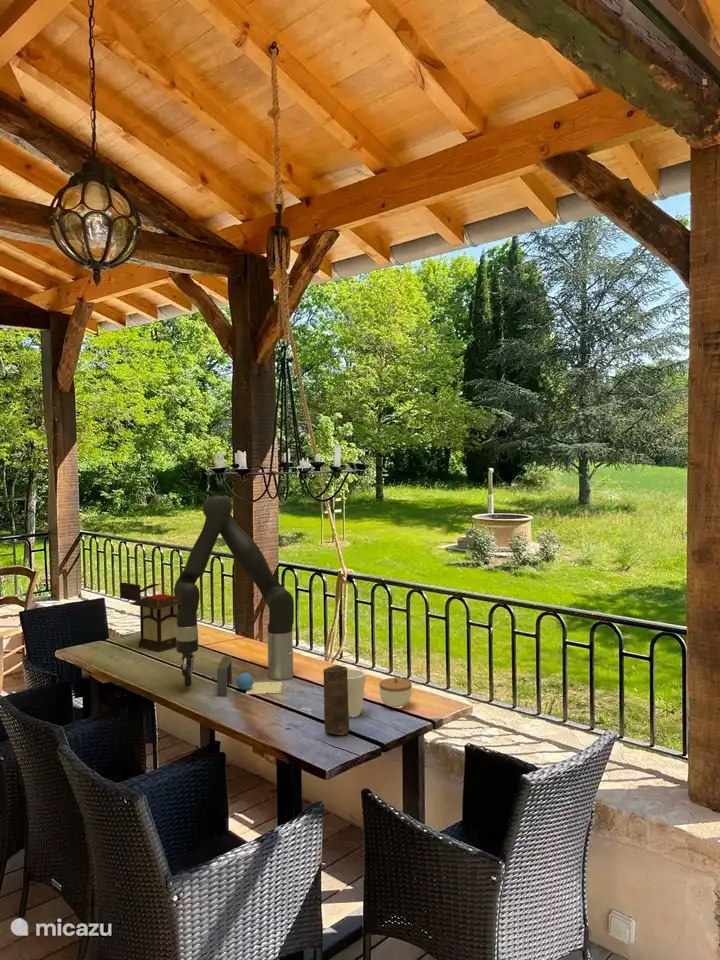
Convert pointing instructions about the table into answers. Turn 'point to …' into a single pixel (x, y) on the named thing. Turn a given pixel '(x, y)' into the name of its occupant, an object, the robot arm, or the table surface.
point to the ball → (245, 681)
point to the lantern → (154, 616)
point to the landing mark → (265, 688)
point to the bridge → (224, 675)
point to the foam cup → (355, 690)
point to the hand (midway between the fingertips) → (188, 685)
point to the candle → (336, 700)
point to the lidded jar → (395, 691)
